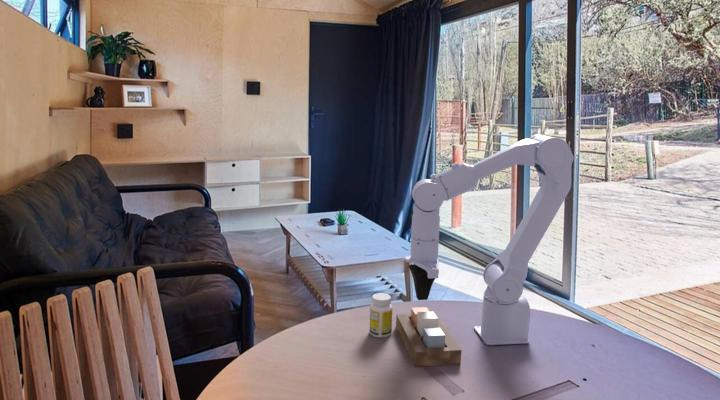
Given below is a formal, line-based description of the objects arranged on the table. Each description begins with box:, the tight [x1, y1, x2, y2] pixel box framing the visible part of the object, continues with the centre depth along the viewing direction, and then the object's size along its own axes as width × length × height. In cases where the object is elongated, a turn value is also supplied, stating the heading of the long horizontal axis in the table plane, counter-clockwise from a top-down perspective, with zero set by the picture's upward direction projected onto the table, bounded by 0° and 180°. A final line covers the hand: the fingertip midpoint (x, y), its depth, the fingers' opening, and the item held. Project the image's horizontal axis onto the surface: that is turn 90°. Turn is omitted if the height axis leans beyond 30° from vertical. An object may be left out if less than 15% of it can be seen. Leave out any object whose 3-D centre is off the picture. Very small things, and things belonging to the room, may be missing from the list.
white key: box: [417, 311, 438, 336], centre depth 107 cm, size 3×3×4 cm
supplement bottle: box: [369, 292, 393, 338], centre depth 111 cm, size 5×5×8 cm
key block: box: [395, 312, 462, 368], centre depth 107 cm, size 9×17×3 cm, turn 9°
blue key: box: [423, 328, 445, 348], centre depth 102 cm, size 3×3×4 cm
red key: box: [410, 306, 430, 325], centre depth 112 cm, size 3×3×4 cm
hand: (422, 298), depth 111 cm, fingers closed
